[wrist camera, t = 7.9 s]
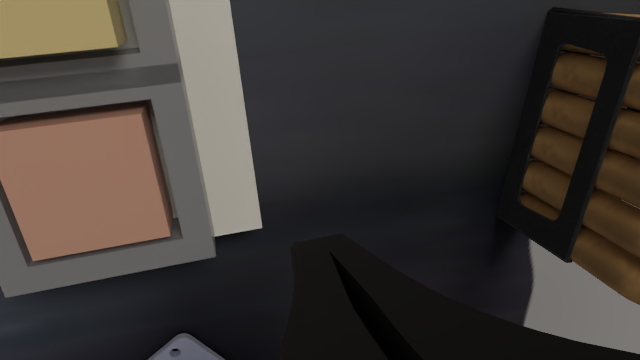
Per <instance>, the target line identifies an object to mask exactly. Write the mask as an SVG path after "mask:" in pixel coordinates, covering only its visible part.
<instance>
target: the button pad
mask: <svg viewBox="0 0 640 360" xmlns="http://www.w3.org/2000/svg"><path fill="white" fill-rule="evenodd" d="M118 2H119V6H120V10H121V15H122V19H123V23H124V27H125V31H126V35H127V40H128V41H126V42H125V43H123V44H122V45H120V46H119V47H113V48H103V49H93V50H83V51H72V52H62V53H52V54H42V55H32V56H22V57H12V58H2V59H0V122H2V121H3V120H5V119H6V118H14V117H22V116H30V115H38V114H46V113H55V112H63V111H71V110H79V109H87V108H95V107H103V106H111V105H120V104H128V103H136V102H144V101H147V103H148V107H149V112H150V116H151V120H152V124H153V129H154V133H155V137H156V141H157V146H158V150H159V154H160V159H161V163H162V167H163V171H164V176H165V180H166V184H167V188H168V193H169V197H170V201H171V206H172V210H173V220H172V229H171V236H169V237H164V238H158V239H153V240H147V241H142V242H136V243H131V244H125V245H120V246H114V247H109V248H103V249H98V250H92V251H87V252H81V253H76V254H70V255H65V256H59V257H54V258H48V259H43V260H37V261H33V260H32V258H31V255H30V253H29V250H28V248H27V245H26V243H25V240H24V238H23V235H22V233H21V230H20V228H19V225H18V223H17V220H16V218H15V215H14V213H13V210H12V208H11V205H10V203H9V200H8V198H7V195H6V193H5V190H4V188H3V185H2V183H1V180H0V286H1V288H2V291H3V293H4V295H5V297H6V298H7V297H12V296H17V295H22V294H27V293H33V292H38V291H43V290H48V289H53V288H58V287H63V286H69V285H74V284H79V283H84V282H89V281H94V280H99V279H105V278H110V277H115V276H120V275H125V274H130V273H135V272H140V271H146V270H151V269H156V268H161V267H166V266H171V265H176V264H182V263H187V262H192V261H197V260H202V259H207V258H212V257H216V249H215V237H216V236H221V235H226V234H232V233H237V232H243V231H248V230H253V229H259V228H262V223H261V216H260V209H259V202H258V195H257V188H256V181H255V174H254V167H253V160H252V153H251V147H250V140H249V133H248V126H247V119H246V112H245V105H244V98H243V91H242V84H241V77H240V70H239V63H238V56H237V50H236V43H235V36H234V29H233V22H232V15H231V8H230V1H229V0H118Z"/></svg>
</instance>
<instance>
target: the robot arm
mask: <svg viewBox="0 0 640 360" xmlns="http://www.w3.org/2000/svg"><path fill="white" fill-rule="evenodd" d="M291 255H292V263H293V272H294V293H293V300H292V306H291V312H290V317H289V322H288V326H287V330H286V334H285V338H284V342H283V345H282V348H281V352H280V355H279V358H278V360H640V354H636V353H631V352H626V351H621V350H617V349H612V348H607V347H602V346H597V345H592V344H587V343H582V342H578V341H574V340H570V339H566V338H563V337H559V336H555V335H551V334H548V333H543V332H540V331H537V330H534V329H530V328H527V327H524V326H521V325H517V324H514V323H511V322H509V321H506V320H503V319H500V318H497V317H495V316H492V315H489V314H486V313H483V312H481V311H478V310H476V309H473V308H471V307H468V306H466V305H464V304H462V303H459V302H457V301H455V300H453V299H451V298H448V297H446V296H444V295H442V294H440V293H438V292H436V291H434V290H432V289H430V288H428V287H426V286H424V285H422V284H421V283H419V282H417V281H415V280H413V279H411V278H410V277H408V276H406V275H404V274H403V273H401V272H399V271H398V270H396V269H394V268H393V267H391V266H390V265H388V264H387V263H385V262H383V261H382V260H380V259H379V258H377V257H376V256H374V255H373V254H371V253H370V252H368V251H367V250H366V249H364V248H363V247H361V246H360V245H358V244H357V243H355V242H354V241H353V240H351V239H350V238H348V237H347V236H345V235H344V234H338V235H332V236H327V237H322V238H317V239H312V240H307V241H302V242H297V243H294V244H293V246H292V247H291ZM176 348H177V349H179V350H178V351H172V349H176ZM148 360H225V359H224V358H222V357H221V356H219V355H218V354H217V353H215V352H214V351H212V350H211V349H210V348H208V347H207V346H205V345H204V344H202V343H201V342H200V341H198V340H197V339H195V338H194V337H193V336H191V335H189V334H186V333H182V334H179V335H177V336H175V337H174V338H173V339H172V340H170V341H169V342H168V343H167V344H166V345H164V346H163V347H162V348H161V349H160V350H158V351H157V352H156V353H155V354H154V355H152V356H151V357H150V358H149V359H148Z"/></svg>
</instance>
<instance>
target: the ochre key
mask: <svg viewBox="0 0 640 360" xmlns="http://www.w3.org/2000/svg"><path fill="white" fill-rule="evenodd" d="M126 41H128V40H127V35H126V31H125V27H124V23H123V19H122V15H121V10H120V6H119V2H118V0H0V59H2V58H12V57H22V56H32V55H42V54H52V53H62V52H72V51H83V50H93V49H103V48H113V47H119V46H120V45H122V44H123V43H125V42H126Z"/></svg>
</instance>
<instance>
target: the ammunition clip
mask: <svg viewBox="0 0 640 360" xmlns="http://www.w3.org/2000/svg"><path fill="white" fill-rule="evenodd" d="M591 54H592V55H599V56H604V57H605V58H601V57H595V56H590V55H591ZM636 61H639V62H640V15H631V14H613V13H603V12H594V11H586V10H576V9H566V8H556V7H553V8H552V9H551V10H549V11H548V14H547V18H546V22H545V26H544V29H543V33H542V37H541V41H540V45H539V49H538V53H537V57H536V61H535V65H534V69H533V73H532V76H531V80H530V84H529V88H528V92H527V96H526V100H525V104H524V108H523V112H522V116H521V120H520V123H519V127H518V131H517V135H516V139H515V143H514V147H513V151H512V155H511V159H510V163H509V167H508V170H507V174H506V178H505V182H504V186H503V190H502V194H501V198H500V202H499V206H498V210H497V214H496V216H497V217H498V218H500V219H501V220H503V221H504V222H506V223H507V224H509V225H510V226H512V227H513V228H515V229H516V230H518V231H519V232H521V233H522V234H524V235H525V236H527V237H528V238H530V239H531V240H533V241H534V242H536V243H537V244H539V245H540V246H542V247H543V248H545V249H546V250H548V251H549V252H551V253H552V254H554V255H555V256H557V257H558V258H560V259H561V260H563V261H564V262H567V263H569V262H572V261H574V262H575V263H577V264H578V265H579V266H581V267H582V268H584V269H585V270H587V271H588V272H589V273H591V274H592V275H593V276H595V277H597V278H598V279H599V280H601V281H602V282H603V283H605V284H606V285H608V286H609V287H610V288H612V289H613V290H615V291H616V292H618V293H619V294H621V295H622V296H624V297H625V298H627V299H629V300H631V301H633V302H635V303H637V304H639V305H640V209H639V208H640V160H638V159H640V64H637V63H636ZM578 94H579V95H583V96H587V97H591V98H595V99H596V100H592V99H589V98H585V97H582V96H578ZM621 106H626V107H628V108H627V109H625V108H621ZM575 135H576V136H575ZM580 137H581V138H580ZM583 138H584V139H583ZM607 147H608V148H607ZM609 148H611V149H609ZM612 149H613V150H612ZM637 158H638V159H637ZM594 186H595V187H594ZM596 187H597V188H596ZM598 188H599V189H598ZM622 200H624V201H626V202H628V203H630V204H632V205H634V206H632V205H630V204H628V203H626V202H624V201H622ZM635 206H636V207H638V208H636V207H635Z"/></svg>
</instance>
